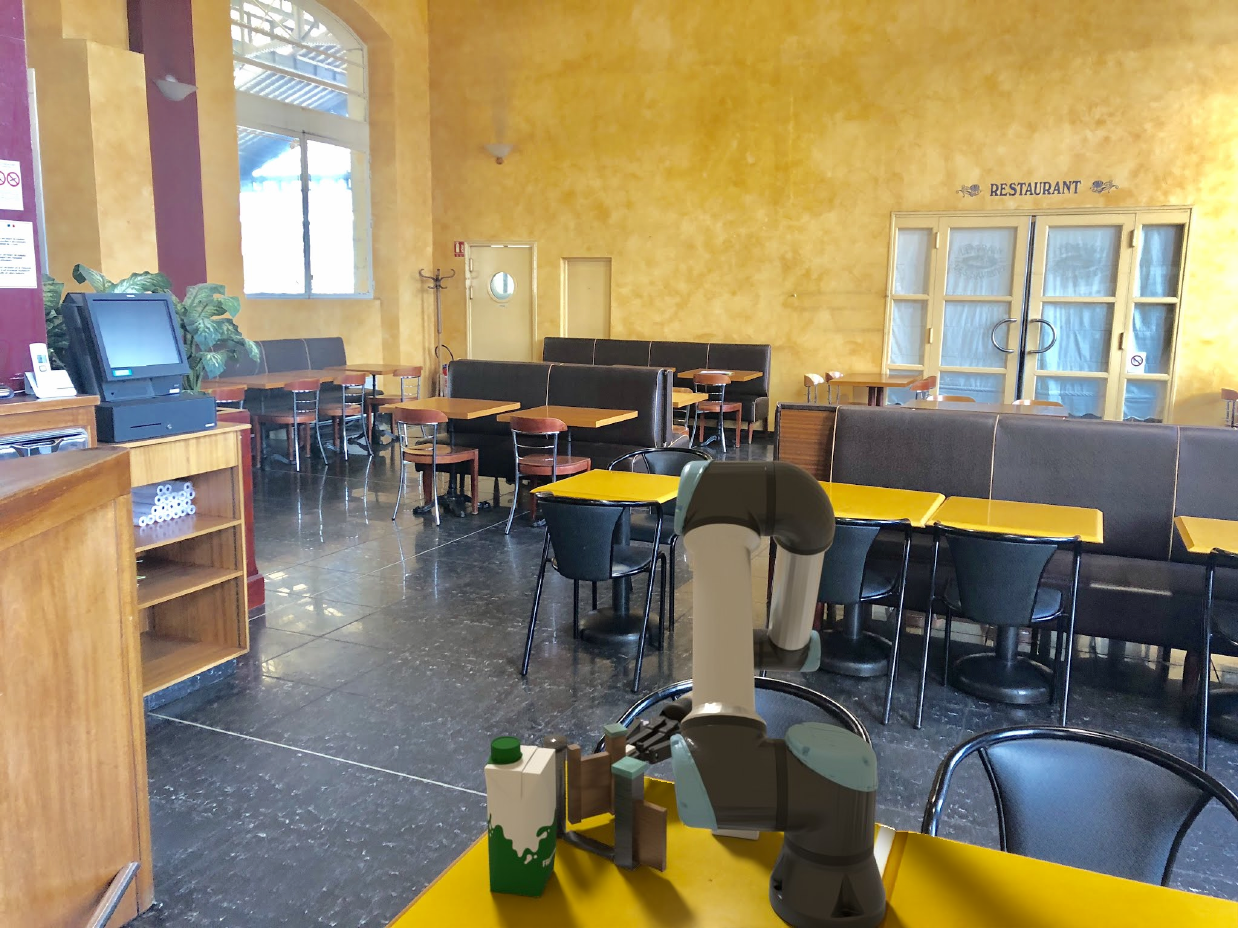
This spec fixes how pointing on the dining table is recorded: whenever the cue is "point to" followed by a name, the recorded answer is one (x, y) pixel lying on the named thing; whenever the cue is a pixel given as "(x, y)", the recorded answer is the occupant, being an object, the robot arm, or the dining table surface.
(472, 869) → the dining table surface
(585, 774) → the gate
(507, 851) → the milk carton
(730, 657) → the robot arm
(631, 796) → the gate posts
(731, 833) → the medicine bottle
